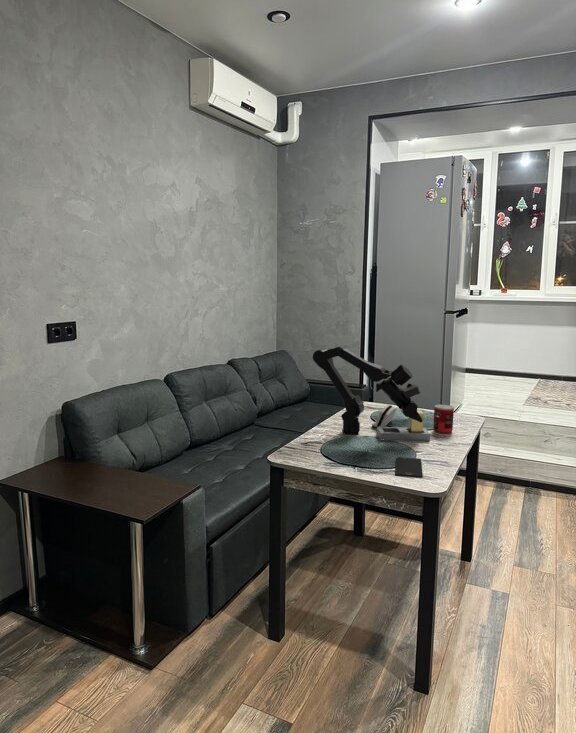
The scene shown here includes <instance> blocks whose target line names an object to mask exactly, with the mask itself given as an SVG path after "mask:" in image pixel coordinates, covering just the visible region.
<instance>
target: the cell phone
mask: <svg viewBox="0 0 576 733" xmlns="http://www.w3.org/2000/svg"><path fill="white" fill-rule="evenodd" d="M396 457H397V458H396ZM396 457H395V471H394V472H395V474H394V475H395V476H396V477H406V478H407V477H408V478H409V477H410V478H423V477H424V476H423V474H424V473H423V465H422V459H421V458H416V457H415V458H414V457H400V456H396Z"/></svg>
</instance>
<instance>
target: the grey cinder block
mask: <svg viewBox="0 0 576 733" xmlns="http://www.w3.org/2000/svg"><path fill="white" fill-rule="evenodd" d="M376 436H377V437H378V438H380V439H384V440H383V441H389V440H393V442H394V441H399V442H400V441H402V442H405V441H406V442H431V432H429V430H428V429H427V428H426V427H423V430H422V433H409V427H402V426H401V427H397V426H396V427H393V426H391V427H388V426H385V427H379V426H378V427H376ZM380 439H379V440H380Z"/></svg>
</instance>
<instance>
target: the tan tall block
mask: <svg viewBox="0 0 576 733" xmlns="http://www.w3.org/2000/svg"><path fill="white" fill-rule="evenodd" d="M417 412H418V414H419V415H420V417H421V418H422V420H423V421H422V422H419V421H416V420H414V419H411V418H409V417H408V418H409V421H408V428H409V433H422V430H423V428H424V427H423V426H424V412H423V411H422V410H419V409H417Z"/></svg>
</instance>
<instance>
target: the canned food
mask: <svg viewBox="0 0 576 733" xmlns="http://www.w3.org/2000/svg"><path fill="white" fill-rule="evenodd" d="M454 409H455V408H454V406H453V405H449V404H435V405H434V409H433V432H434V433H437V434H442V435H443V434H444V435H449V434H452V432H453V429H454V415H455V414H454V413H455V412H454V411H455V410H454Z"/></svg>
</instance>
